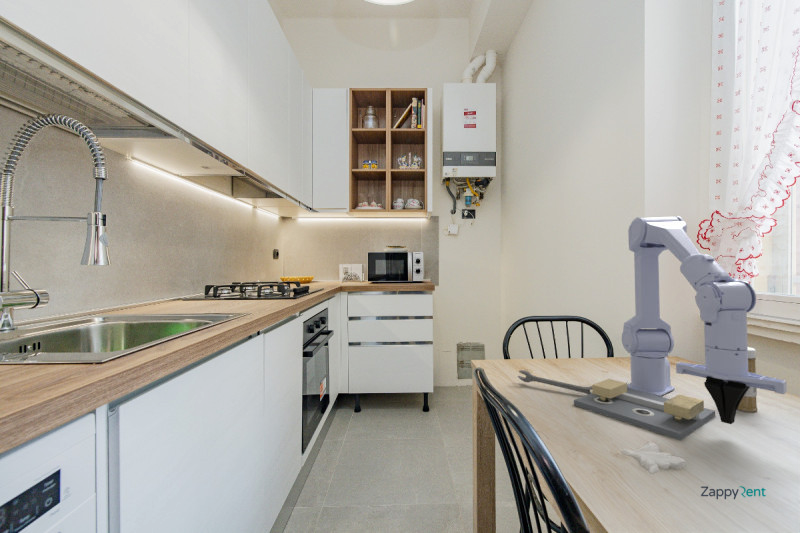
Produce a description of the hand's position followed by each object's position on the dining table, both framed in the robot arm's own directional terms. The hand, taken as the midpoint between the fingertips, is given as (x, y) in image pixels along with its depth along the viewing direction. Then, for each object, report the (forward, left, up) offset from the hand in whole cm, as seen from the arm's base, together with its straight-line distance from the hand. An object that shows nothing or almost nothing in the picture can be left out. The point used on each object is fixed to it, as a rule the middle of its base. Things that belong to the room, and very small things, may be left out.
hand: (727, 421), depth 63 cm
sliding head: (0, -6, -1) cm, 7 cm away
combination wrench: (+2, -33, -3) cm, 33 cm away
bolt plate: (-1, -14, -3) cm, 15 cm away
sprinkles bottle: (-20, -2, -3) cm, 20 cm away
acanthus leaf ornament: (+19, -5, -4) cm, 20 cm away
